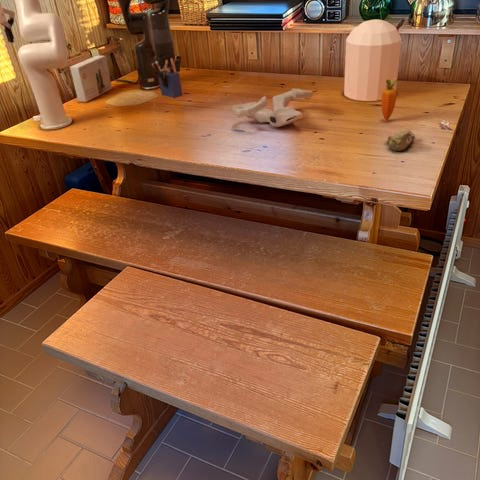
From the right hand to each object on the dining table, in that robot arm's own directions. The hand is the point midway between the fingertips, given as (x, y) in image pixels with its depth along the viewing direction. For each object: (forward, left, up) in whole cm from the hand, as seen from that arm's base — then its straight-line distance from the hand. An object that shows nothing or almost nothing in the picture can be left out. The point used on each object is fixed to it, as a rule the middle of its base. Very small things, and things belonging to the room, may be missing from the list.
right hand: (170, 85), depth 188 cm
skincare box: (-53, +2, -11) cm, 54 cm away
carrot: (+83, +23, -11) cm, 86 cm away
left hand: (-17, -56, +26) cm, 64 cm away
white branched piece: (+49, +4, -11) cm, 50 cm away
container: (+65, +50, -11) cm, 82 cm away
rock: (+95, +4, -11) cm, 95 cm away
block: (0, 0, -4) cm, 4 cm away
